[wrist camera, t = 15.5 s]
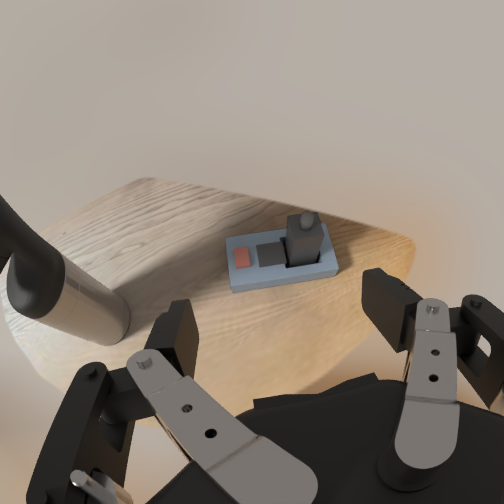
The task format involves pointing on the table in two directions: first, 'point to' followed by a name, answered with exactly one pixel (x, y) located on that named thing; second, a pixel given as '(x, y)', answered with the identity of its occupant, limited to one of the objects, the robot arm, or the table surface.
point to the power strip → (273, 261)
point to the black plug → (303, 239)
